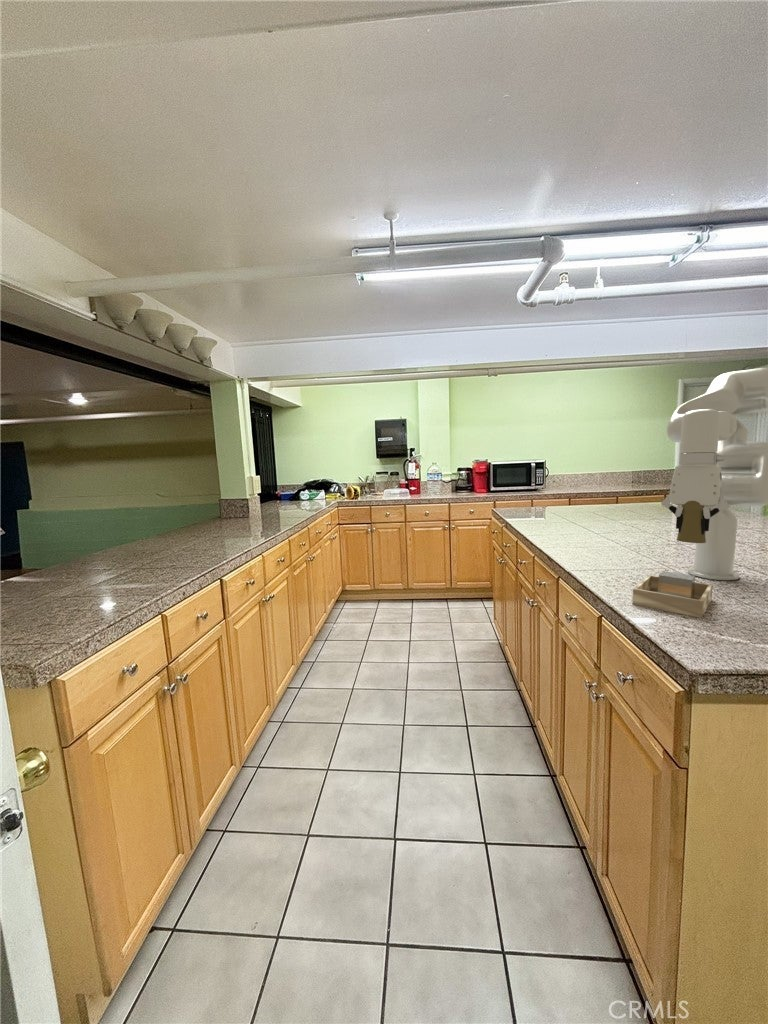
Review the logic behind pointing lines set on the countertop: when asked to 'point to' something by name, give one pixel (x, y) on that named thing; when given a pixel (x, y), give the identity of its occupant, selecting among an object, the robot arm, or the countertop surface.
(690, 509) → the cork
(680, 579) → the tin
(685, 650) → the countertop surface
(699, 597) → the tray
